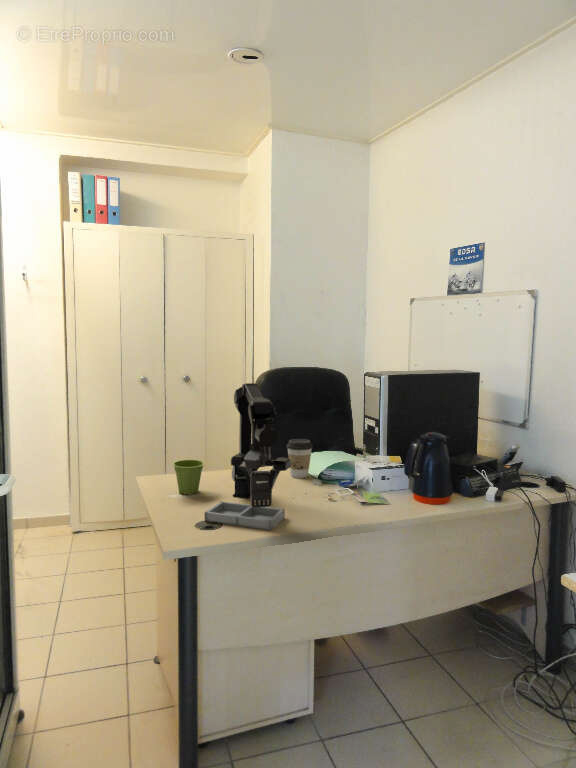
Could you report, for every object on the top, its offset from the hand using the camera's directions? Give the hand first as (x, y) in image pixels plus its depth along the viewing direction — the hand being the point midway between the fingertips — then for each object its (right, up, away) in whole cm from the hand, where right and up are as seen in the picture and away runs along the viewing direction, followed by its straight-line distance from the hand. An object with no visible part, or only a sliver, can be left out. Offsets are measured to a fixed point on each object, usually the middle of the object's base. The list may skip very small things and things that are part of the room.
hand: (260, 488), depth 173 cm
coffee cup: (+14, -6, +56) cm, 58 cm away
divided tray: (-5, -11, +3) cm, 12 cm away
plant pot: (-29, -8, +32) cm, 44 cm away
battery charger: (0, -6, +1) cm, 6 cm away
